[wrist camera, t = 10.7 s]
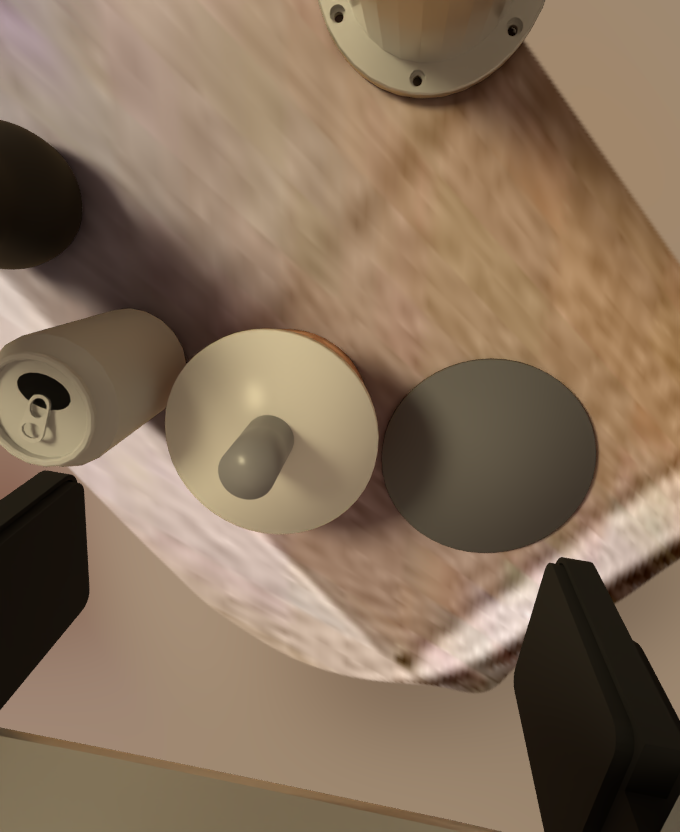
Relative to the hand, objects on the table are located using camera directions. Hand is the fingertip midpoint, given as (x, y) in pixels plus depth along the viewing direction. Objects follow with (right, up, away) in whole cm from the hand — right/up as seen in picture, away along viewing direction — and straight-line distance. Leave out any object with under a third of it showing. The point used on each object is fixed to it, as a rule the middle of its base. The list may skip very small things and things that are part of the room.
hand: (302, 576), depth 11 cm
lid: (-3, +2, +23) cm, 23 cm away
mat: (+11, 0, +28) cm, 30 cm away
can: (-13, +7, +29) cm, 32 cm away
